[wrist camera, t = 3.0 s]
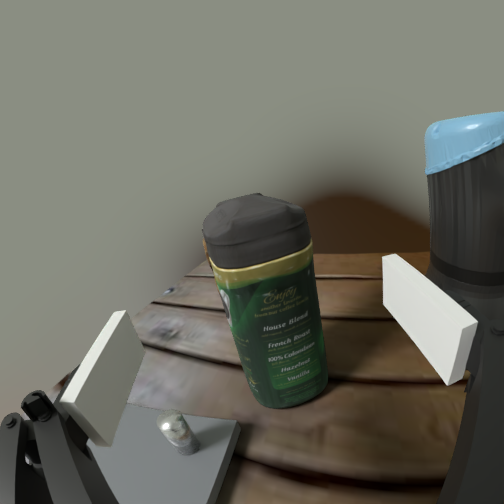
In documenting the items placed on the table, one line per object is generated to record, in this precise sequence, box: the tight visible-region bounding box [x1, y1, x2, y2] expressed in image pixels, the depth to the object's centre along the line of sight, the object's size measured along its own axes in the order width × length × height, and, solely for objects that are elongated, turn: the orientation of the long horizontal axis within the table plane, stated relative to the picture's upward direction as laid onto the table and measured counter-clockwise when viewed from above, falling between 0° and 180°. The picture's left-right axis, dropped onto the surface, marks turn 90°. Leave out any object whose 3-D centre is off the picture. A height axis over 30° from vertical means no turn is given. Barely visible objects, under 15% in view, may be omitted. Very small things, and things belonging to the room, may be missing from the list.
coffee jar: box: [202, 193, 328, 409], centre depth 26 cm, size 10×8×19 cm
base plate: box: [87, 403, 241, 504], centre depth 16 cm, size 20×20×6 cm
